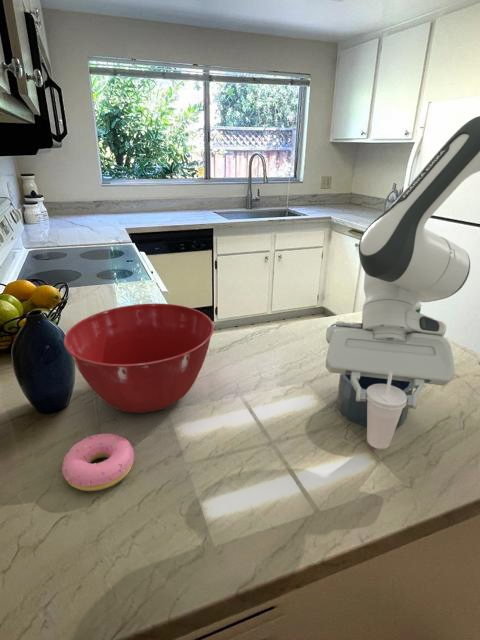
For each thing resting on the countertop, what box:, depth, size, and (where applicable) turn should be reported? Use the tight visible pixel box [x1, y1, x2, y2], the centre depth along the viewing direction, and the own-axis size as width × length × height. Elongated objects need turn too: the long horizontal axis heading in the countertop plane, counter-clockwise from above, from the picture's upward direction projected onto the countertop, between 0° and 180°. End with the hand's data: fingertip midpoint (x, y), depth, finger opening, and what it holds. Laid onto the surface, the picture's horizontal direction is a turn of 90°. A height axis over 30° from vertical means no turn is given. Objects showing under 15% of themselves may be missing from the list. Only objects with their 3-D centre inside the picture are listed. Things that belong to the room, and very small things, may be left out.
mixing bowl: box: [63, 302, 215, 414], centre depth 82 cm, size 28×28×16 cm
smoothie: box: [366, 371, 407, 450], centre depth 66 cm, size 6×6×14 cm
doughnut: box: [61, 432, 135, 492], centre depth 64 cm, size 11×11×4 cm
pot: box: [336, 374, 414, 428], centre depth 80 cm, size 14×14×8 cm
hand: (385, 404), depth 65 cm, fingers closed on smoothie, 6 cm apart
